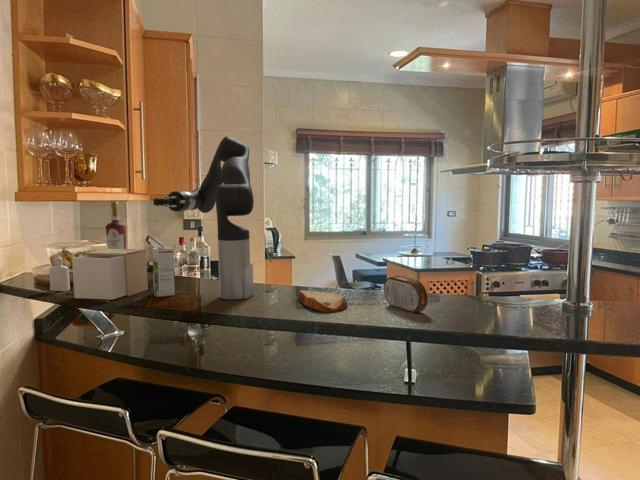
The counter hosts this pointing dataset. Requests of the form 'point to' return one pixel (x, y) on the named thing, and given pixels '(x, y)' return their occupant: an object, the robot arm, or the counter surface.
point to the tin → (405, 293)
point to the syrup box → (163, 271)
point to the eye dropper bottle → (59, 276)
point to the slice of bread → (323, 301)
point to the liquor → (116, 230)
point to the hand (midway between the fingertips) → (155, 202)
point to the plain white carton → (99, 276)
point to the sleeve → (131, 267)
